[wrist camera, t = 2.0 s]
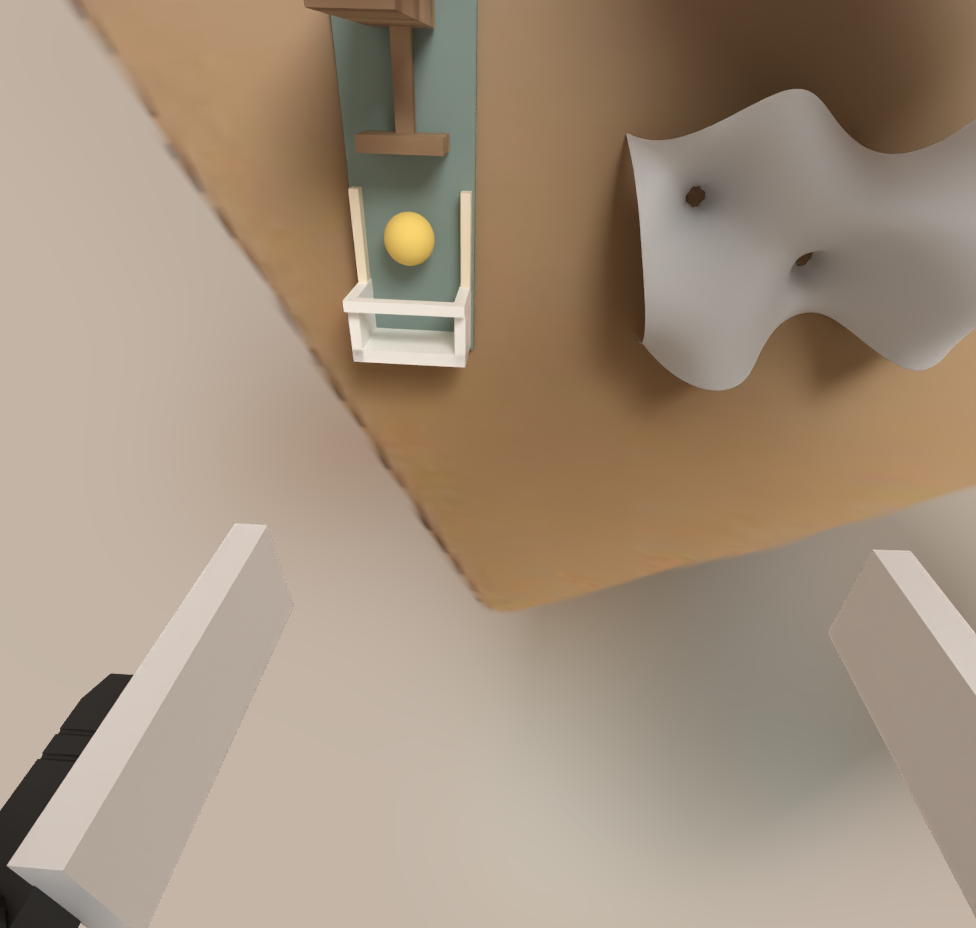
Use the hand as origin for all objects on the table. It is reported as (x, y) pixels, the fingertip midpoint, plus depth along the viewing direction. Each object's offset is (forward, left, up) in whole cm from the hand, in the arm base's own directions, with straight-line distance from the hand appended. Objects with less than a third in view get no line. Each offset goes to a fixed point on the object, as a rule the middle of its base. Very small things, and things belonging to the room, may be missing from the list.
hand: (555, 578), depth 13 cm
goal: (+6, -9, -34) cm, 36 cm away
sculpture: (-1, +19, -35) cm, 40 cm away
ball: (0, -9, -32) cm, 34 cm away
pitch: (-4, -9, -35) cm, 36 cm away
